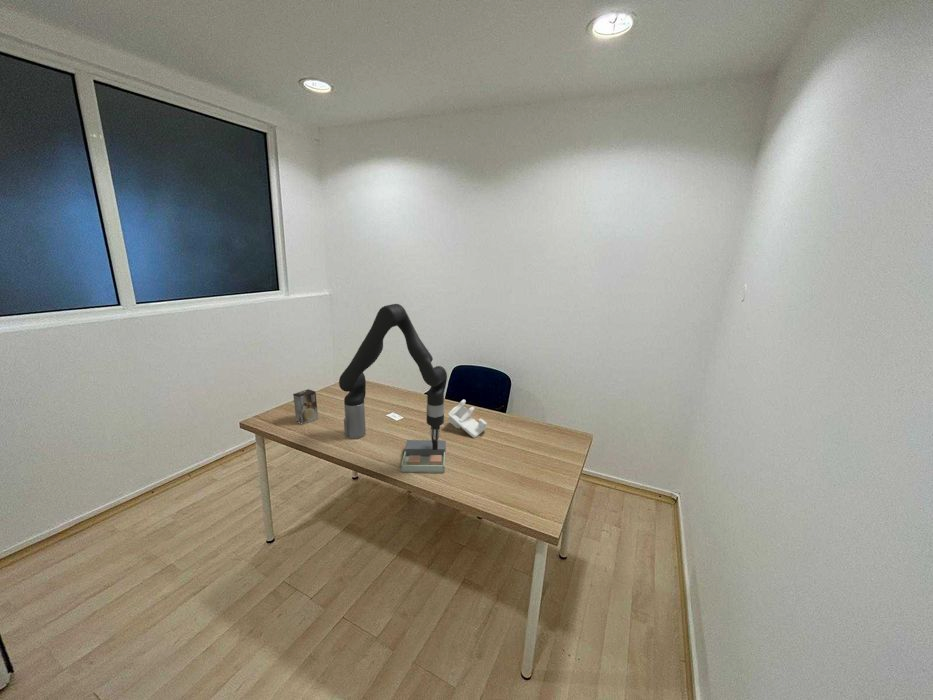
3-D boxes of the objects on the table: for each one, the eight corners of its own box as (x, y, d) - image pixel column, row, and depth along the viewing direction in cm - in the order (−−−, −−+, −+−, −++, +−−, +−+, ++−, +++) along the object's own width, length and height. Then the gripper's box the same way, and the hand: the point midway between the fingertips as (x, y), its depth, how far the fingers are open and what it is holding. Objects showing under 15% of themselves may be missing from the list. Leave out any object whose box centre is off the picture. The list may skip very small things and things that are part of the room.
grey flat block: (404, 456, 157) (404, 448, 156) (407, 447, 165) (407, 439, 164) (445, 457, 158) (445, 449, 157) (445, 448, 165) (445, 440, 164)
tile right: (430, 455, 153) (430, 460, 154) (429, 461, 149) (429, 466, 149) (441, 455, 154) (441, 460, 154) (441, 461, 149) (441, 466, 149)
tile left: (409, 455, 152) (409, 460, 153) (407, 461, 148) (408, 467, 148) (420, 455, 153) (420, 460, 153) (419, 461, 148) (419, 467, 149)
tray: (400, 472, 146) (400, 465, 145) (404, 457, 156) (404, 451, 156) (444, 472, 146) (444, 466, 146) (445, 457, 157) (445, 451, 156)
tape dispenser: (480, 436, 187) (491, 419, 181) (469, 446, 177) (481, 428, 172) (452, 413, 193) (462, 395, 187) (440, 420, 184) (450, 402, 178)
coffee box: (311, 416, 194) (308, 388, 190) (318, 419, 191) (316, 391, 187) (295, 422, 186) (292, 393, 183) (303, 425, 183) (300, 396, 179)
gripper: (427, 406, 157) (427, 441, 161) (425, 419, 144) (425, 457, 148) (444, 406, 157) (444, 441, 161) (443, 419, 144) (443, 457, 148)
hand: (435, 448), depth 155 cm, fingers closed
